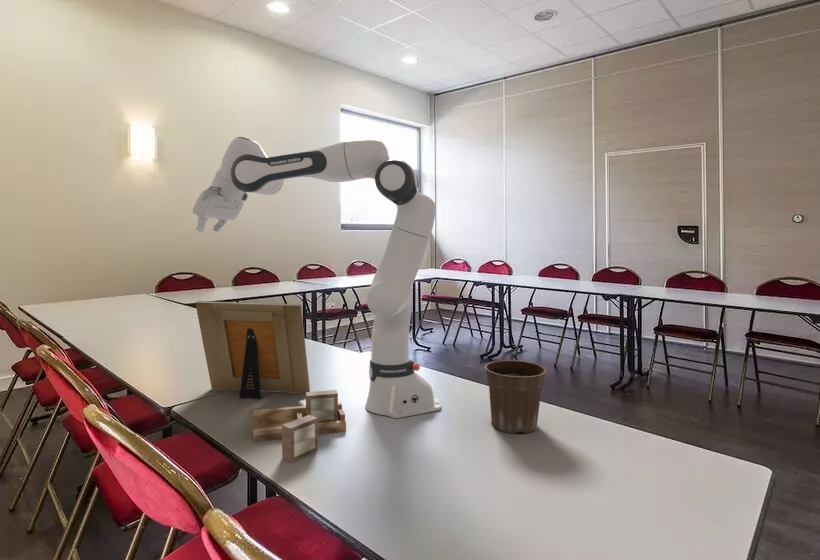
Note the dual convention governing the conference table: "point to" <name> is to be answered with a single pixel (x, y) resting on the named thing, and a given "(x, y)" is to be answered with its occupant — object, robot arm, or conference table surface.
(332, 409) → the frame
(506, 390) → the plant pot
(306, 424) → the walnut frame
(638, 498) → the conference table surface
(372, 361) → the robot arm
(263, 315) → the picture frame
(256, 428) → the oak rail
